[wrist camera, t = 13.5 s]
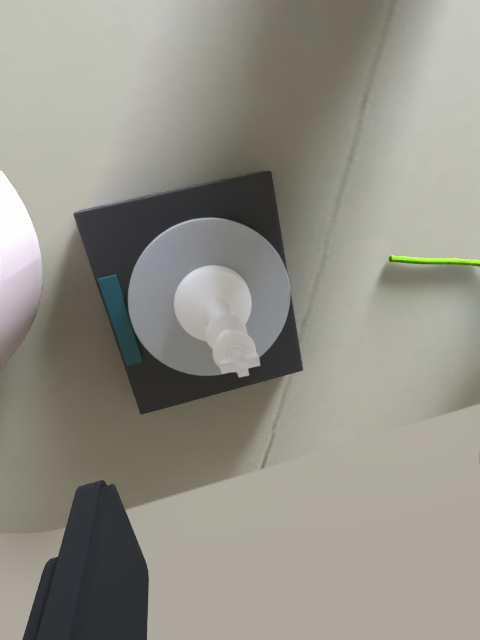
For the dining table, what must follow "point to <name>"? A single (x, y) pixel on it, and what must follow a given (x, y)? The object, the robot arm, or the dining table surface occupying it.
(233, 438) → the dining table surface
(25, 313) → the container
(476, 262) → the decorative flower
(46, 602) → the robot arm
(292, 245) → the dining table surface
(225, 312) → the chess piece
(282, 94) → the dining table surface
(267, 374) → the scale
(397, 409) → the dining table surface
